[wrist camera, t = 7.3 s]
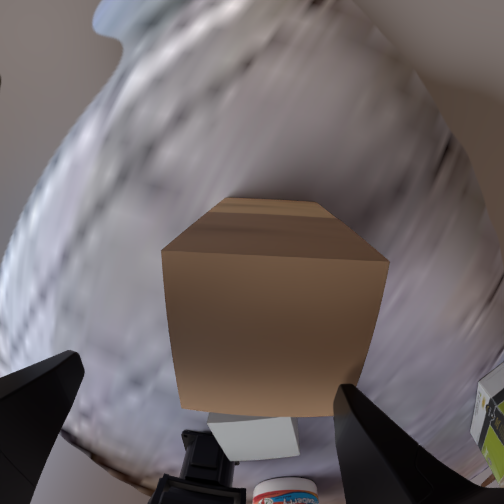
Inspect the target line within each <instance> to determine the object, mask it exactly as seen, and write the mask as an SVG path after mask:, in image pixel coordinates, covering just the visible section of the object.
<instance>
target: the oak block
mask: <svg viewBox="0 0 504 504" xmlns="http://www.w3.org/2000/svg"><path fill="white" fill-rule="evenodd" d="M208 212H225V213H251V214H272V215H291V216H307V217H322V218H336V217H334V216H333V215H332V214H331V213H329V212H328V211H327V210H325V209H324V208H323V207H322V206H320V205H319V204H318V203H316V202H307V201H292V200H273V199H251V198H225V199H223V200H222V201H221V202H219V203H218V204H217V205H216V206H214V207H213V208H212V209H211V210H209V211H208ZM336 219H337V218H336Z"/></svg>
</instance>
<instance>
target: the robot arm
mask: <svg viewBox="0 0 504 504" xmlns="http://www.w3.org/2000/svg"><path fill="white" fill-rule="evenodd" d="M84 373H85V370H84V367H83V364H82V361H81V358H80V355H79V354H78V353H77V352H75V351H71V350H67V351H65V352H62V353H60V354H58V355H55V356H53V357H50V358H48V359H45V360H43V361H41V362H38V363H36V364H33V365H31V366H28V367H26V368H23V369H21V370H19V371H16V372H14V373H11V374H9V375H6V376H4V377H1V378H0V504H30V502H31V499H32V496H33V494H34V491H35V488H36V486H37V483H38V480H39V478H40V475H41V473H42V470H43V468H44V466H45V463H46V460H47V458H48V456H49V454H50V452H51V449H52V447H53V445H54V443H55V441H56V438H57V436H58V434H59V432H60V430H61V428H62V426H63V424H64V422H65V420H66V418H67V416H68V414H69V412H70V409H71V407H72V405H73V402H74V400H75V397H76V395H77V392H78V389H79V387H80V384H81V382H82V379H83V377H84ZM333 413H334V426H335V441H336V449H337V455H338V460H339V465H340V471H341V476H342V482H343V487H344V493H345V499H346V504H504V488H486V487H481V486H478V485H476V484H474V483H472V482H471V481H469V480H467V479H466V478H464V477H463V476H461V475H460V474H458V473H456V472H455V471H453V470H452V469H450V468H449V467H447V466H446V465H444V464H443V463H442V462H440V461H439V460H437V459H436V458H435V457H434V456H433V455H431V454H430V453H429V452H428V451H426V450H425V449H424V448H423V447H422V446H421V445H418V443H417V442H416V441H415V440H414V439H413V438H412V437H410V436H409V435H408V434H407V433H406V432H405V431H404V430H403V429H401V428H400V427H399V426H398V425H397V424H396V423H395V422H394V421H392V420H391V419H390V418H389V417H388V416H387V415H386V414H385V413H384V412H383V411H381V410H380V409H379V408H378V407H377V406H376V405H375V404H374V403H373V402H372V401H371V400H369V399H368V398H367V397H366V396H365V395H364V394H363V393H362V392H361V391H360V390H359V389H358V388H356V387H355V386H354V385H353V384H351V383H348V384H340V385H339V386H338V389H337V392H336V395H335V398H334V402H333ZM181 436H182V440H183V443H184V447H185V450H186V454H185V458H184V462H183V465H182V469H181V473H180V477H179V478H178V477H174V476H170V475H169V474H165V473H164V475H163V478H160V479H159V482H158V485H157V488H156V490H155V492H154V494H153V495H152V497H151V498H150V500H149V502H148V504H246V488H232V482H233V474H234V465H239V463H240V461H230V460H229V459H228V457H227V456H226V454H225V453H224V451H223V449H222V448H221V446H220V445H219V443H218V441H217V440H216V438H215V436H214V435H209V434H201V433H194V432H188V431H183V432H182V434H181Z"/></svg>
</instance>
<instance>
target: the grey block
mask: <svg viewBox="0 0 504 504" xmlns="http://www.w3.org/2000/svg"><path fill="white" fill-rule="evenodd" d="M207 424H208V426H209V428H210V430H211V431H212V433H213V435H214V436H215V438H216V440H217V441H218V443H219V445H220V446H221V448H222V449H223V451H224V453H225V454H226V456H227V457H228V459H229V460H230V461H247V460H262V459H274V458H283V457H291V456H298V455H300V447H299V434H298V422H297V417H264V416H246V415H233V414H222V413H213V412H209V416H208V420H207Z"/></svg>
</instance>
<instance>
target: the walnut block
mask: <svg viewBox="0 0 504 504" xmlns="http://www.w3.org/2000/svg"><path fill="white" fill-rule="evenodd" d="M161 255H162V269H163V281H164V292H165V302H166V311H167V320H168V328H169V336H170V343H171V350H172V357H173V363H174V369H175V375H176V381H177V387H178V392H179V397H180V403H181V408H183V409H190V410H197V411H204V412H213V413H222V414H233V415H246V416H264V417H320V416H334V413H333V402H334V398H335V395H336V392H337V389H338V386H339V385H340V384H348V383H351V384H353V385H354V386H355V387H356V386H357V383H358V380H359V378H360V375H361V372H362V369H363V366H364V362H365V359H366V356H367V353H368V350H369V346H370V343H371V339H372V336H373V332H374V329H375V325H376V321H377V317H378V313H379V309H380V305H381V301H382V297H383V292H384V288H385V283H386V279H387V274H388V268H389V263H390V261H388V260H387V259H386V258H385V257H384V256H383V255H381V254H380V253H379V252H378V251H377V250H376V249H374V248H373V247H372V246H371V245H370V244H369V243H367V242H366V241H365V240H364V239H363V238H361V237H360V236H359V235H358V234H357V233H355V232H354V231H353V230H352V229H350V228H349V227H348V226H347V225H345V224H344V223H343V222H342V221H340V220H339V219H336V218H322V217H307V216H291V215H272V214H251V213H225V212H207V213H206V214H204V215H203V216H202V217H201V218H200V219H198V220H197V221H196V222H195V223H193V224H192V225H191V226H190V227H189V228H187V229H186V230H185V231H184V232H182V233H181V234H180V235H179V236H178V237H176V238H175V239H174V240H173V241H172V242H171V243H169V244H168V245H167V246H166V247H165V248H164V249H162V250H161Z"/></svg>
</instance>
